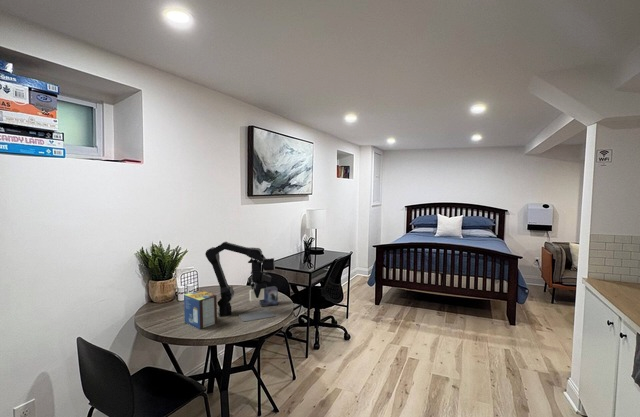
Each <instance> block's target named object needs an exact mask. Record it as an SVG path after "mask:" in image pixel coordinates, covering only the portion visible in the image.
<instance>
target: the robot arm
mask: <svg viewBox="0 0 640 417" xmlns="http://www.w3.org/2000/svg"><path fill="white" fill-rule="evenodd" d="M224 250H227V251H230V252H235V253H237V254H238V253H239V254H241V255H245V256H246V257H248V258H250V260H248V261H247V263H248V264H251V271H250V275H251V276H248V278H247V283H250V284H249V285H250V287H251V290H254V293H255V295H256V298H258V297H259V294H260V290H261V289H263V288H267V287H268V286H267V283H265V282H268V283H271V280H272V278H273V277H272V276H271V275H270V274H268V272H266V271H275V268H276V263H275V257H273V258H266V257H265V255H264V254H263V251H262V249H261V248H260V247H248V246H247V247H246V246H244V245H239V244H236V243H232V242H228V241H224V242H222V243H221V244H218V246H216V247H213V246H212V247H210V248H208V249H207V250H206V251H205V257H206V258H207V261H208V262H209V263H210V264H211V265H212V266H211V267H212V269H213V271H214V274H215V276H216V279H217V283H218V285H219V288H220V289H219V290H220V292H219V293H220V294H219V295H220V299H219V300H218V301H217V305H218V306H217V315H218V316H219V317H227V316H231V315H232V304H231V301H232V299H233V298H234V296H235V291H234V288H233V285H231V286H230V285H229V284H228V282H227V279H226V275H225V273H224V270H223V268H222V265H221V261H220V258H221V257H220V253H221V252H223V251H224ZM262 269H263V270H264V271H265V272H263V270H262ZM264 281H265V282H264Z"/></svg>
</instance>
